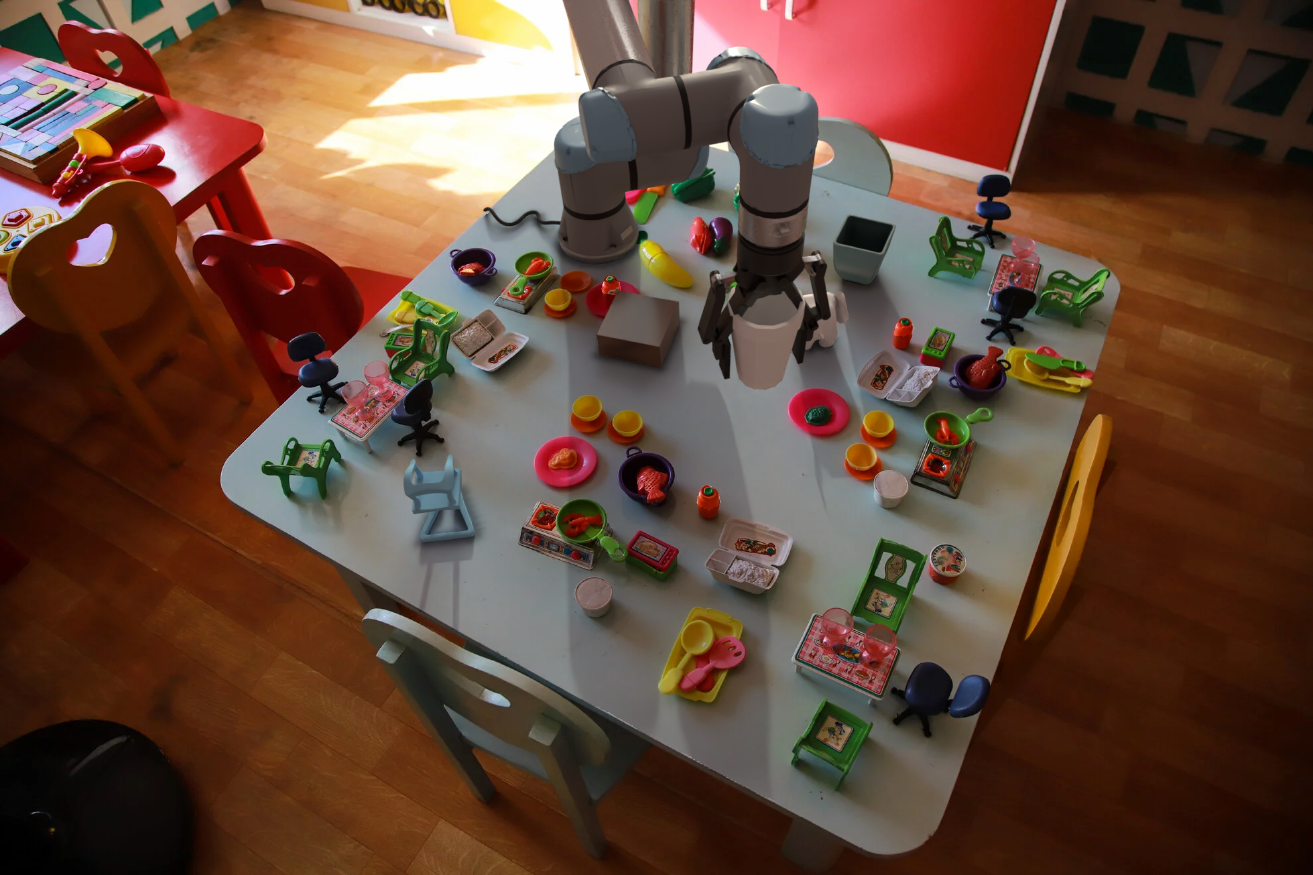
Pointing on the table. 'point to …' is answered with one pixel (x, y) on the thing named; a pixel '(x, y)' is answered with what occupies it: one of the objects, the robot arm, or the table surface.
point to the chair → (437, 497)
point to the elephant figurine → (828, 327)
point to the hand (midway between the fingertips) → (760, 364)
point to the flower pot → (861, 248)
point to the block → (638, 328)
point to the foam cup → (765, 339)
